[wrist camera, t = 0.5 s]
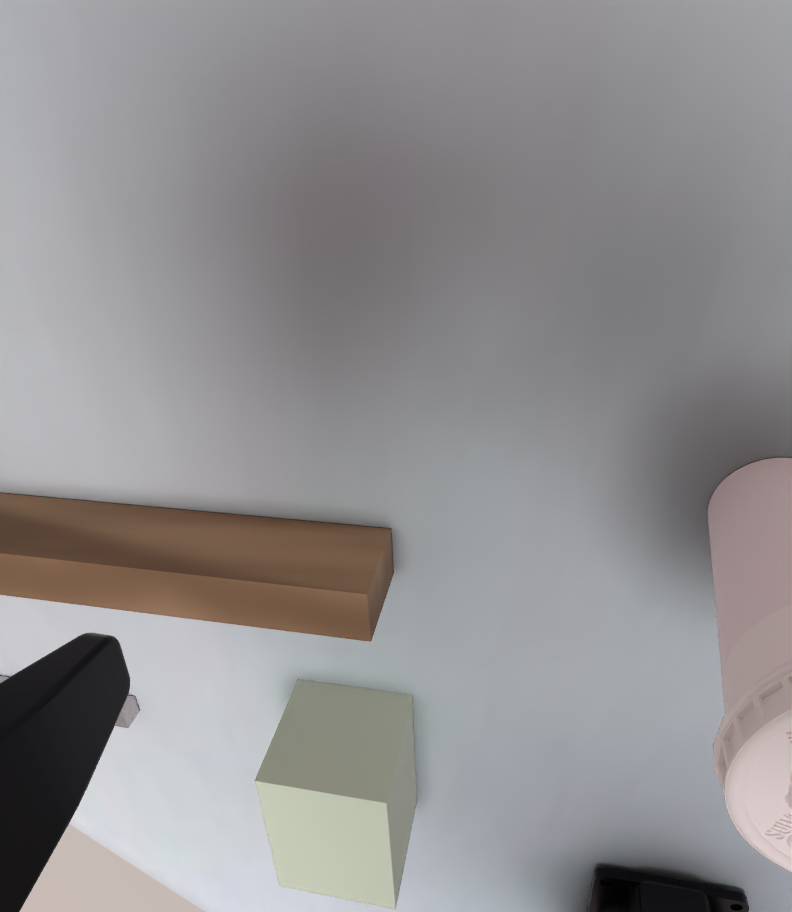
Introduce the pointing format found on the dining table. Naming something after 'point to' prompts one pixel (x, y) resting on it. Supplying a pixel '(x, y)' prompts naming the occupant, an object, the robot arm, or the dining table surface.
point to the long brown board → (197, 564)
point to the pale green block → (341, 792)
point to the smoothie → (755, 651)
